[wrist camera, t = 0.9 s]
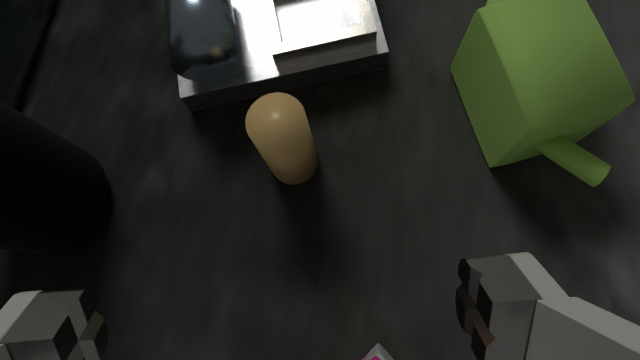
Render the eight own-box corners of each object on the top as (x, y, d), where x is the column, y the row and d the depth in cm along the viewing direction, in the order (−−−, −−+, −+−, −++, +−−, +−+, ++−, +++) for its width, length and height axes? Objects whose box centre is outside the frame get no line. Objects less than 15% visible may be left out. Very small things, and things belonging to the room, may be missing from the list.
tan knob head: (313, 134, 43) (300, 86, 34) (322, 179, 42) (311, 141, 33) (267, 144, 43) (241, 99, 34) (274, 189, 42) (250, 154, 33)
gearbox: (613, 187, 40) (694, 151, 31) (507, 216, 39) (557, 188, 30) (534, 19, 45) (583, -55, 36) (439, 44, 44) (464, -24, 35)
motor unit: (358, -36, 48) (357, -111, 40) (387, 68, 45) (392, 9, 36) (179, 5, 49) (140, -60, 41) (191, 111, 45) (151, 64, 37)
